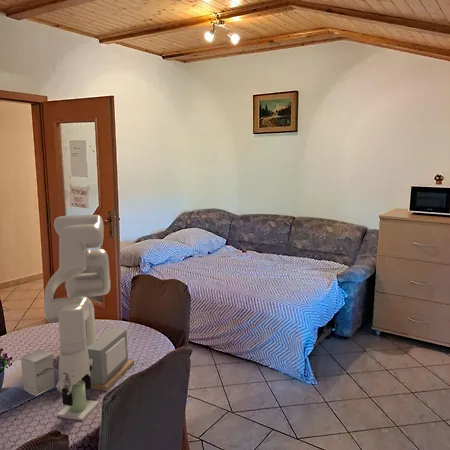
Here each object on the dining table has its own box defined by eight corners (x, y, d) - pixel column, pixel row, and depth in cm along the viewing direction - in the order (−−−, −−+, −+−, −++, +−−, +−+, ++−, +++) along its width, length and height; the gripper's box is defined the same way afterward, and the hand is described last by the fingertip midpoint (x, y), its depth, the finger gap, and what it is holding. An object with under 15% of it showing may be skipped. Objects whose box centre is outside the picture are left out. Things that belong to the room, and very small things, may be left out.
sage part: (66, 411, 132) (64, 387, 131) (75, 402, 137) (74, 379, 135) (80, 413, 131) (78, 389, 129) (89, 404, 135) (87, 381, 134)
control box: (81, 387, 147) (78, 349, 145) (110, 360, 166) (108, 326, 164) (106, 391, 144) (104, 352, 142) (134, 363, 164) (132, 329, 161)
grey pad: (57, 416, 131) (56, 414, 131) (74, 400, 139) (74, 398, 139) (82, 420, 128) (82, 418, 128) (98, 404, 137) (98, 401, 137)
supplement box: (36, 397, 141) (33, 362, 139) (23, 391, 145) (20, 356, 143) (55, 387, 147) (52, 353, 145) (42, 381, 151) (39, 348, 149)
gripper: (79, 332, 140) (82, 380, 142) (44, 356, 123) (49, 410, 126) (99, 334, 138) (102, 383, 140) (66, 359, 121) (71, 413, 124)
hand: (77, 396), depth 133 cm, fingers open, 9 cm apart
